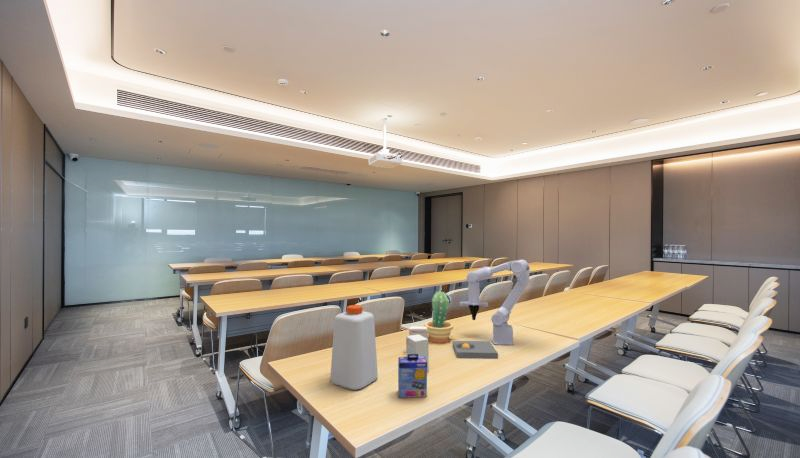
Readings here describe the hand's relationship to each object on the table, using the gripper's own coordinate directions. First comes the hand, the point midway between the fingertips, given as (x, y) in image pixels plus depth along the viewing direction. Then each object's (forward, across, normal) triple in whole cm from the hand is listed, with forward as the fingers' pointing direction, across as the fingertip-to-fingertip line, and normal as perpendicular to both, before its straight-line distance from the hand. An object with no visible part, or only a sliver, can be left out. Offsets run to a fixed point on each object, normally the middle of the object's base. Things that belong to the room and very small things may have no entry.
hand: (473, 319), depth 179 cm
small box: (+10, -28, -45) cm, 54 cm away
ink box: (+10, -28, -26) cm, 40 cm away
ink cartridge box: (+10, -29, -66) cm, 73 cm away
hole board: (+9, -3, -22) cm, 24 cm away
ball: (+7, -6, -23) cm, 25 cm away
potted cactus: (+10, -19, -6) cm, 22 cm away
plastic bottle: (+10, -51, -57) cm, 78 cm away
